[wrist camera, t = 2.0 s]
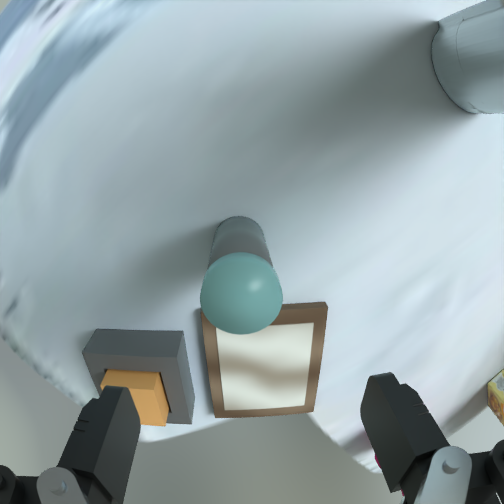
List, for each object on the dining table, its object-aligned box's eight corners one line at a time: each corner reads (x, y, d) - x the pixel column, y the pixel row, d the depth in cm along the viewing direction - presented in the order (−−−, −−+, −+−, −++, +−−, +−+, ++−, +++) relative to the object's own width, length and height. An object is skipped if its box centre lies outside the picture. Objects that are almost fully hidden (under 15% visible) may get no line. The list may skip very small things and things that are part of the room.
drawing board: (201, 307, 27) (200, 313, 26) (325, 301, 27) (328, 307, 26) (215, 411, 32) (214, 418, 31) (311, 405, 32) (313, 412, 31)
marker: (211, 216, 24) (196, 263, 15) (265, 214, 24) (283, 260, 15) (214, 265, 26) (203, 335, 16) (265, 263, 26) (281, 332, 16)
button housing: (96, 328, 27) (81, 352, 24) (183, 330, 28) (176, 357, 24) (118, 392, 30) (109, 417, 27) (195, 397, 31) (191, 424, 27)
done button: (113, 357, 26) (100, 385, 22) (162, 360, 26) (153, 389, 23) (125, 394, 28) (116, 421, 24) (171, 397, 28) (165, 426, 24)
